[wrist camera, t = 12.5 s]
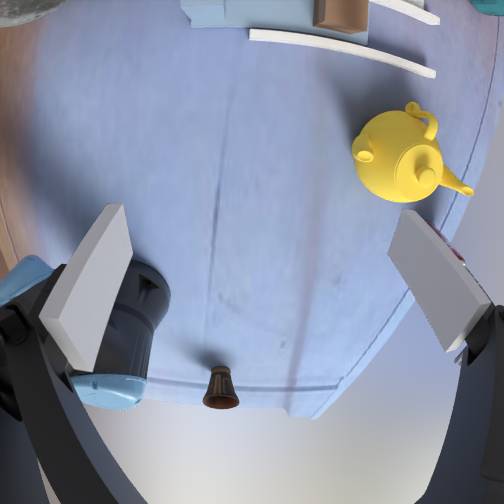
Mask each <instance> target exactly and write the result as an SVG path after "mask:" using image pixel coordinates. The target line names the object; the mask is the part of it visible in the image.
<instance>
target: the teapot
mask: <svg viewBox="0 0 504 504" xmlns="http://www.w3.org/2000/svg"><path fill="white" fill-rule="evenodd" d="M418 118H428V126H426V125H425V124H424V123H423V122H422V121H421V120H419V119H418ZM437 129H438V122H437V119H436V117H435V116H434V115H433V114H432V113H430V112H427V111H420V107H419V105H418V104H417V103H415V102H409V103H408V104H407V105H406V107H405V112H404V111H387V112H384V113H381V114H379V115H377V116H375V117H374V118H372V119H371V120H370V121H369V122H368V123H367V124H366V125H365V126H364V128H363V129H362V131H361V133H360V135H359V136H358V137H356V138H355V140H354V142H353V144H352V149H351V151H352V155H353V157H354V161H355V167H356V171H357V174H358V176H359V178H360V180H361V182H362V183H363V184H364V185H365V186H366V187H367V188H368V189H369V190H370V191H371V192H373V193H374V194H376V195H377V196H379V197H381V198H384V199H386V200H389V201H394V202H413V201H418V200H421V199H424V198H426V197H427V196H429V195H430V194H431V193H432V192H433V191H434V190H435V189H436V188H437V186H438V184H439V185H442V186H446V187H449V188H451V189H454V190H456V191H458V192H460V193H462V194H464V195H467V196H472V195H473V194H474V191H473V190H472V189H471V188H470V187H469V186H467V185H465V184H464V183H462V182H461V181H460V180H459V179H458V178H457V177H456V176H455V175H454V174H453V173H452V172H451V171H450V170H449V168H447V167H446V166H445V165H444V164H443V159H442V154H441V151H440V147H439V145H438V142H437V140H436V138H435V135H436V133H437Z"/></svg>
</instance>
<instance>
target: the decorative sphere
mask: <svg viewBox="0 0 504 504" xmlns="http://www.w3.org/2000/svg"><path fill="white" fill-rule="evenodd" d="M69 1H70V0H0V27H10V26H17V25H21V24H25V23H28V22H31V21H34V20H37V19H39V18H41V17H44V16H46V15H48V14H50V13H52V12H53V11H55V10H57V9H59V8H60V7H62V6H63V5H65V4H66V3H68V2H69Z"/></svg>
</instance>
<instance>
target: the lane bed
mask: <svg viewBox="0 0 504 504" xmlns="http://www.w3.org/2000/svg"><path fill="white" fill-rule="evenodd" d="M369 1H371V2H374V3H377V4H380V5H383V6H386V7H389V8H391V9H394V10H397V11H399V12H402V13H404V14H407V15H409V16H411V17H414V18H416V19H418V20H421V21H423V22H425V23H427V24H429V25H440V18H439V17H437V16H435V15H433V14H431V13H429V12H427V11H425V10H424V0H369ZM249 40H257V41H271V42H282V43H291V44H299V45H306V46H312V47H318V48H324V49H330V50H335V51H340V52H344V53H349V54H353V55H357V56H361V57H365V58H369V59H373V60H377V61H380V62H383V63H387V64H390V65H393V66H396V67H400V68H403V69H405V70H408V71H411V72H414V73H417V74H420V75H422V76H425V77H429V78H434V79H435V75H436V71H434V70H431V69H429V68H427V67H424V66H422V65H419V64H416V63H414V62H411V61H408V60H405V59H403V58H400V57H397V56H394V55H391V54H388V53H384V52H381V51H378V50H374V49H371V48H367V47H363V46H360V45H356V44H351V43H347V42H343V41H338V40H333V39H328V38H323V37H318V36H312V35H305V34H298V33H291V32H282V31H272V30H259V29H250V31H249Z"/></svg>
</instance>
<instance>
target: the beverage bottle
mask: <svg viewBox="0 0 504 504" xmlns="http://www.w3.org/2000/svg"><path fill="white" fill-rule="evenodd" d="M471 2H472V4H473V5H474V7H475V8H476V9H477V10H478V11H479V12H481V13H483V14H486V15H489V16H490V15H491V16H492V15H493V16H504V0H471Z"/></svg>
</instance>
